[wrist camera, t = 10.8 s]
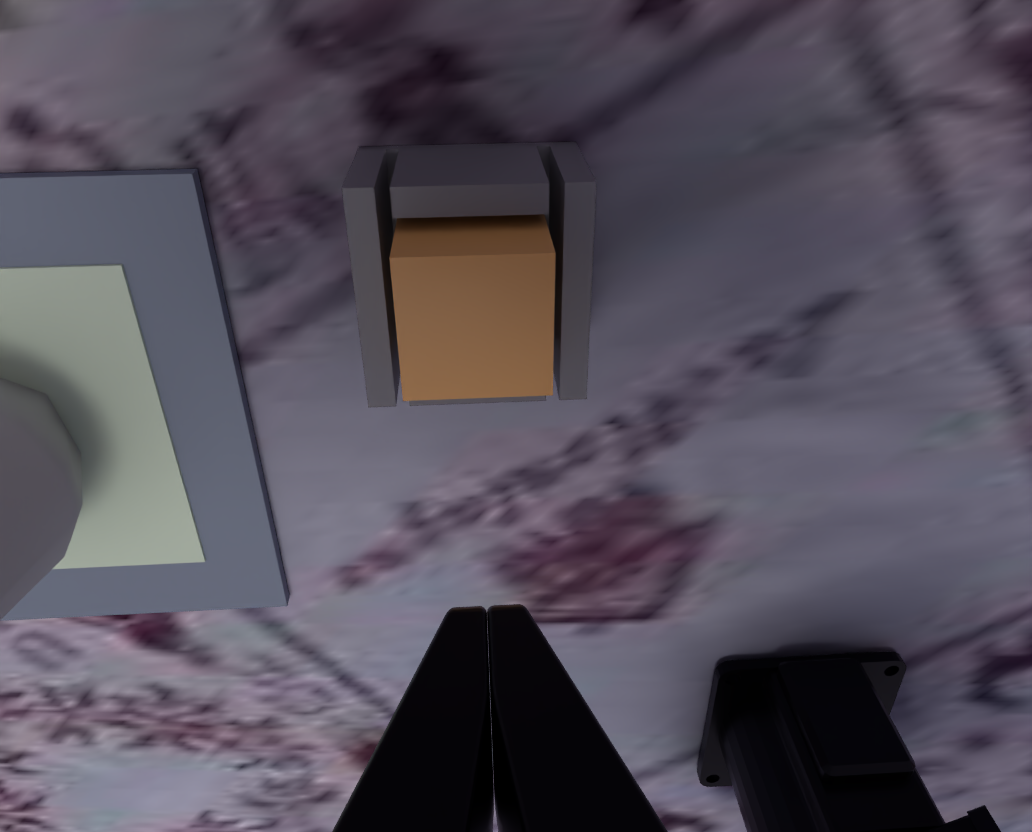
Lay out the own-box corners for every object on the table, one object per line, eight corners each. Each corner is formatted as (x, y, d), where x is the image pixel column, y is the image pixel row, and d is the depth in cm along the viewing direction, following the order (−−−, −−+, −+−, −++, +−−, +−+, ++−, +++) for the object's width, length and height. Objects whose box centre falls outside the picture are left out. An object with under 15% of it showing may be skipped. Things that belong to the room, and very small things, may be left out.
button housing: (569, 335, 20) (586, 398, 18) (380, 341, 20) (368, 407, 18) (575, 141, 18) (596, 181, 15) (359, 146, 18) (341, 188, 15)
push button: (541, 335, 18) (552, 395, 16) (409, 340, 18) (403, 400, 16) (542, 207, 17) (555, 252, 15) (398, 211, 17) (389, 257, 14)
